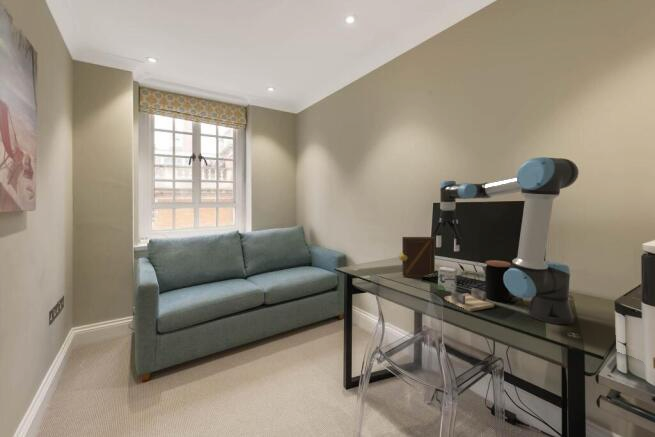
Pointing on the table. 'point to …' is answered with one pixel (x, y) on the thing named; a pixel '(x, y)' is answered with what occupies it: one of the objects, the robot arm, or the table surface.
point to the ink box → (447, 279)
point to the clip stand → (470, 300)
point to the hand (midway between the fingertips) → (447, 249)
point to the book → (417, 256)
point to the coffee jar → (496, 281)
